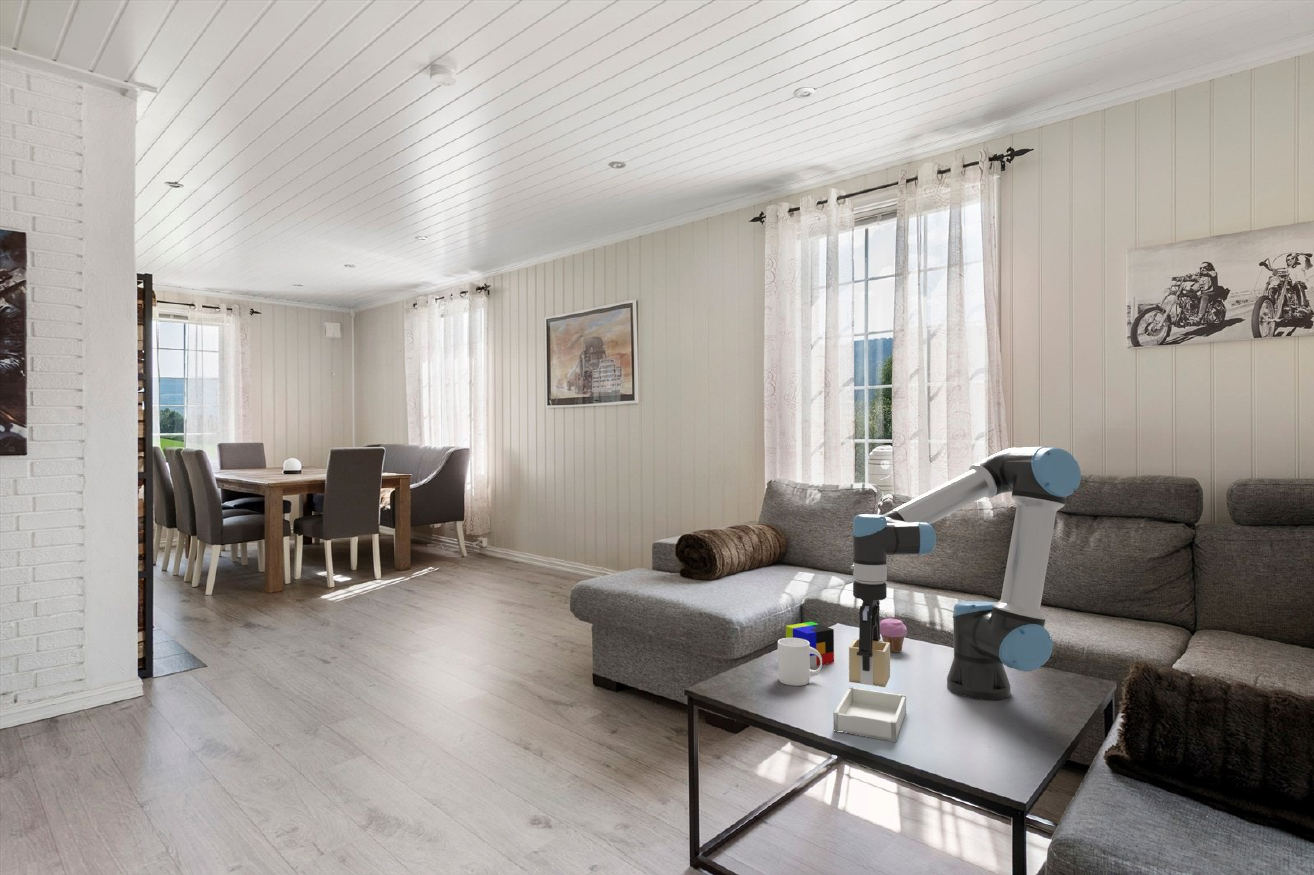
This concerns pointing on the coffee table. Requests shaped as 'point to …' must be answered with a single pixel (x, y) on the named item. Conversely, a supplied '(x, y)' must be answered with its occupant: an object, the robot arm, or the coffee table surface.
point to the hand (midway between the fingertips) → (869, 678)
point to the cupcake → (893, 633)
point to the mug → (795, 661)
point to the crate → (870, 714)
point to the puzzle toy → (815, 640)
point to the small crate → (879, 663)
